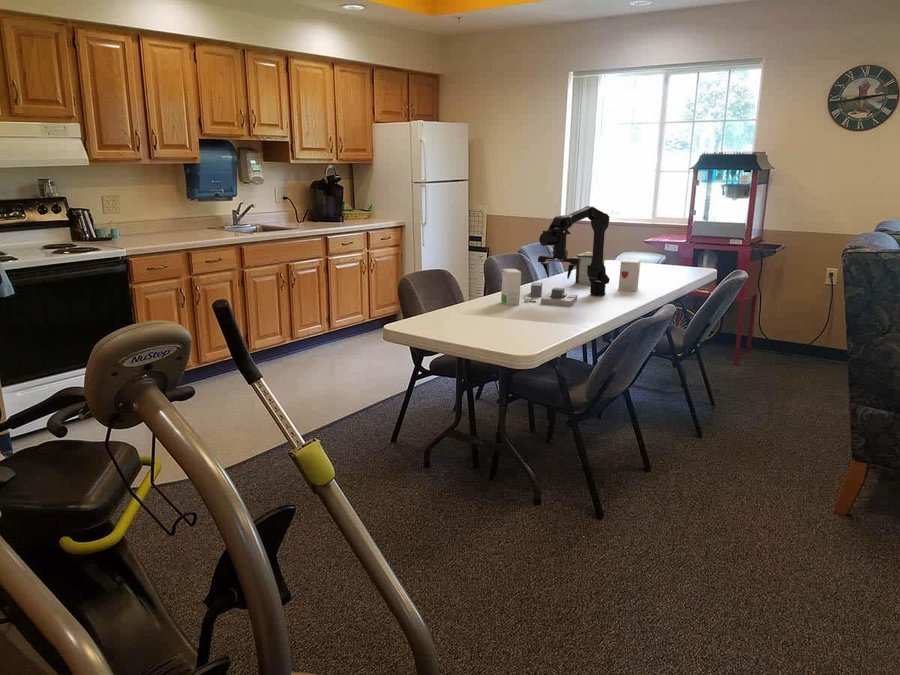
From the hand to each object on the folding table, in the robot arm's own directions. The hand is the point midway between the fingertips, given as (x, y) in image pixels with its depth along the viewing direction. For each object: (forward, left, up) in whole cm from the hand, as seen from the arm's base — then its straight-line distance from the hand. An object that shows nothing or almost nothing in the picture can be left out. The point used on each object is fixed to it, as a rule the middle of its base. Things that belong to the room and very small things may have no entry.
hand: (558, 278), depth 300 cm
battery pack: (+13, -11, -11) cm, 20 cm away
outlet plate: (-2, +1, -11) cm, 11 cm away
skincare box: (+19, +13, -11) cm, 25 cm away
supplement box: (-27, -43, -11) cm, 52 cm away
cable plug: (+11, +5, -11) cm, 17 cm away
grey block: (0, 0, -11) cm, 11 cm away
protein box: (-5, -55, -11) cm, 56 cm away
